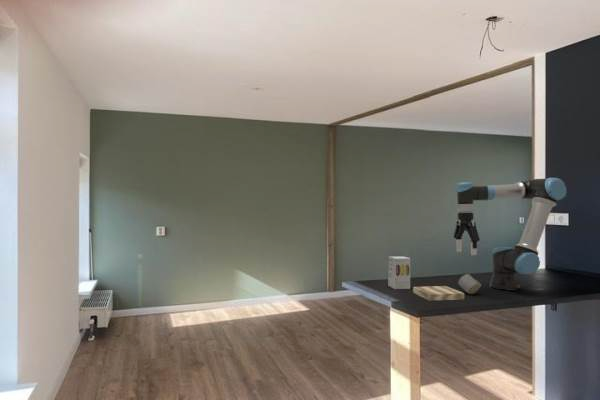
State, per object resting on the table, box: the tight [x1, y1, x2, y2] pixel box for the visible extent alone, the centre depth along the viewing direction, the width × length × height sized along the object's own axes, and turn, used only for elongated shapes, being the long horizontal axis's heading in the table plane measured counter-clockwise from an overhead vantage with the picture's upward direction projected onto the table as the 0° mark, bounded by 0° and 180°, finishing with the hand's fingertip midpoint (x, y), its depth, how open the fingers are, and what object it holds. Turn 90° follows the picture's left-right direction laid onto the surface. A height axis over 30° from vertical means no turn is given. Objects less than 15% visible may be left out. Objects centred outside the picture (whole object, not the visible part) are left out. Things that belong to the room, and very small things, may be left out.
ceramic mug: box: [457, 273, 482, 295], centre depth 214 cm, size 11×8×8 cm
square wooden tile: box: [412, 285, 465, 302], centre depth 208 cm, size 18×18×3 cm
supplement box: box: [387, 255, 411, 290], centre depth 229 cm, size 10×9×17 cm
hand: (466, 253), depth 214 cm, fingers open, 13 cm apart
